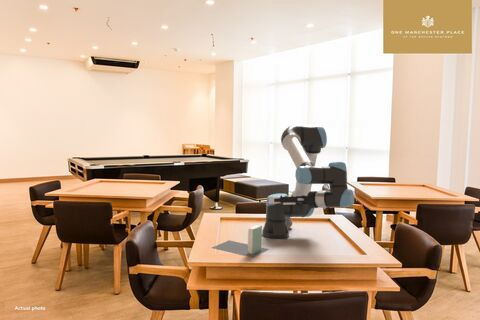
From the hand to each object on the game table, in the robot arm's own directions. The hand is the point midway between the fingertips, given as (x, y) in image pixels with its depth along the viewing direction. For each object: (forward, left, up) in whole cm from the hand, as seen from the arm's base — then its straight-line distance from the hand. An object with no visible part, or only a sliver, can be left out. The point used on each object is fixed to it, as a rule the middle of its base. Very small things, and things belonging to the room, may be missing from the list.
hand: (276, 201), depth 178 cm
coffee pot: (-46, +18, -26) cm, 56 cm away
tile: (-2, -9, -25) cm, 27 cm away
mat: (-8, -15, -25) cm, 30 cm away
